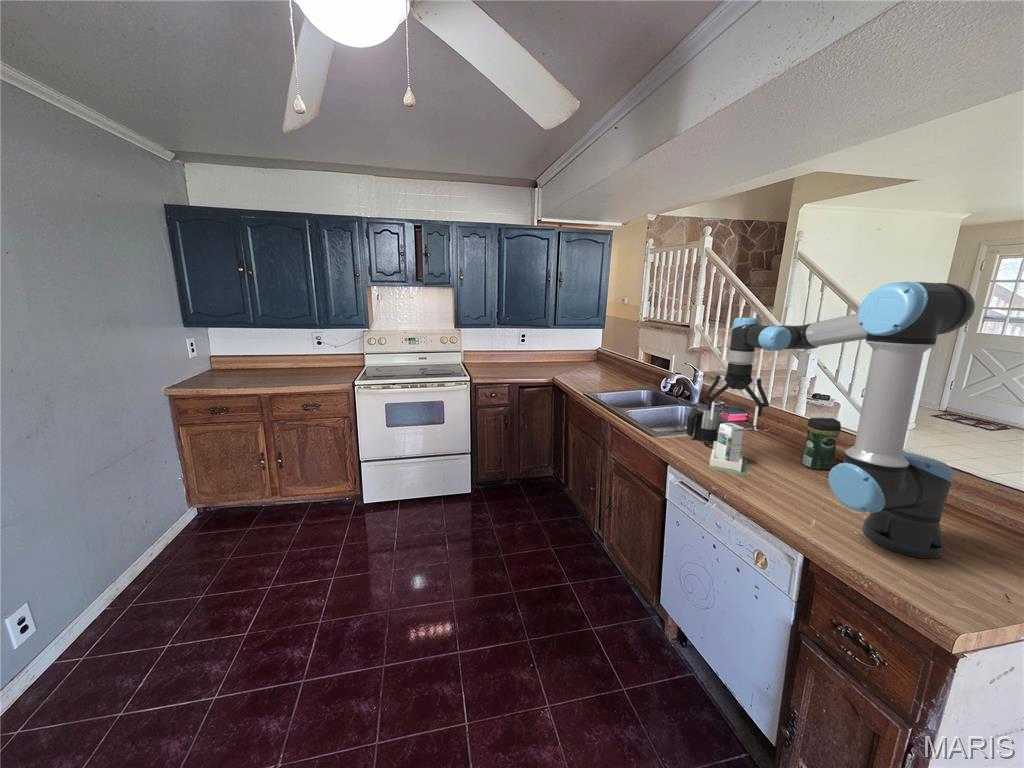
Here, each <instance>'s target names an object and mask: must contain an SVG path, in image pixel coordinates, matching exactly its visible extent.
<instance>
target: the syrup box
mask: <svg viewBox="0 0 1024 768" xmlns="http://www.w3.org/2000/svg"><path fill="white" fill-rule="evenodd" d="M718 427H719V429H718V433H717V435H718V436H717V440H716V441H717V448H716V454H715V458H716V459H721V460H726V461H732V462H737V463H738V461H739V455H740V449H741V446H742V442H743V436H744V432H745V431H744V430H745V427H742V426H740V425H737V424H735V423H733V422H724V423H720V424H719V426H718Z"/></svg>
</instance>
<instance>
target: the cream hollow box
mask: <svg viewBox="0 0 1024 768" xmlns="http://www.w3.org/2000/svg"><path fill="white" fill-rule="evenodd" d="M717 441H718V440H716V441H714V444H713V446H712V451H711V454H710V457H709V458H710V459H709V465H708V467H709V466H711V467H716V468H721V469H726V470H731V471H736V472H741V467H742V459H743V455H744V448H745V446H743V445H741V449H740V455H739V461H738V463H737V462H732V461H726V460H721V459H716V458H715V454H716V448H717Z"/></svg>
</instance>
